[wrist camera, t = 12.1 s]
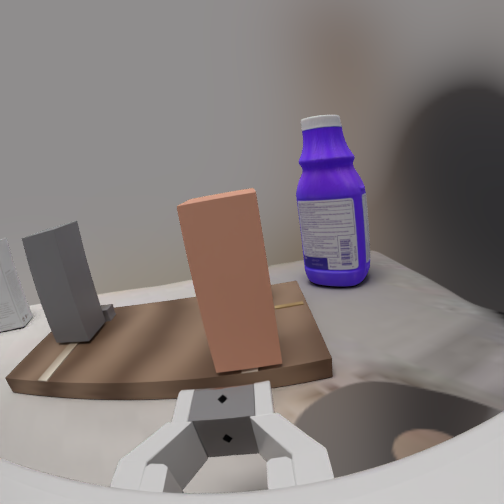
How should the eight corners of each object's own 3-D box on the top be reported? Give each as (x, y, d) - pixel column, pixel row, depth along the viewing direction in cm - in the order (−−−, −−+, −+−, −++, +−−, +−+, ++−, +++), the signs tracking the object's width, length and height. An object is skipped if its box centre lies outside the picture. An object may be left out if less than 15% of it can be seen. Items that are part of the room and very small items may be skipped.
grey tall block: (56, 342, 24) (21, 238, 21) (74, 324, 28) (45, 229, 25) (89, 341, 24) (54, 229, 21) (105, 321, 28) (77, 220, 25)
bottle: (376, 271, 34) (359, 115, 29) (363, 291, 29) (343, 109, 25) (319, 269, 38) (299, 125, 33) (298, 287, 33) (274, 122, 29)
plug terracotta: (216, 372, 18) (176, 206, 15) (220, 339, 22) (190, 199, 19) (282, 363, 18) (255, 191, 15) (276, 331, 22) (253, 187, 19)
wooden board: (13, 392, 19) (-1, 366, 18) (75, 323, 32) (68, 303, 31) (332, 376, 18) (330, 341, 17) (298, 294, 32) (295, 269, 31)
